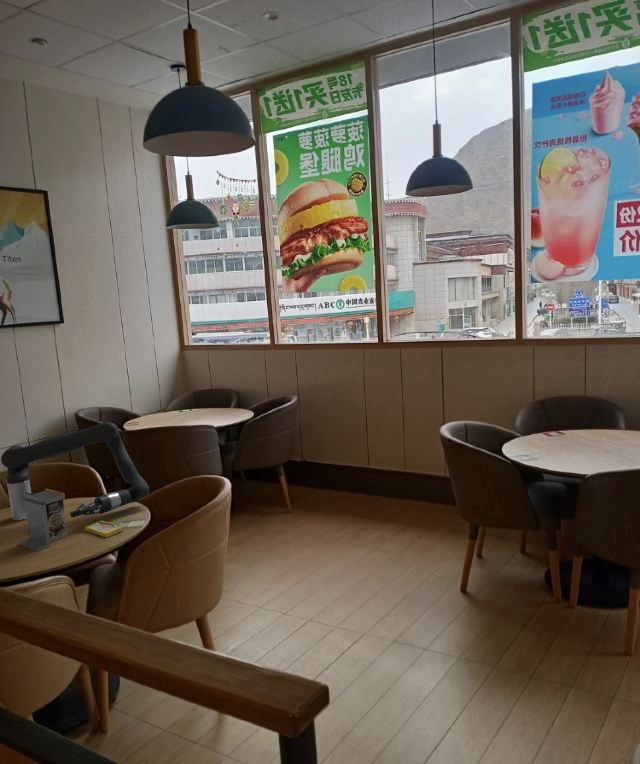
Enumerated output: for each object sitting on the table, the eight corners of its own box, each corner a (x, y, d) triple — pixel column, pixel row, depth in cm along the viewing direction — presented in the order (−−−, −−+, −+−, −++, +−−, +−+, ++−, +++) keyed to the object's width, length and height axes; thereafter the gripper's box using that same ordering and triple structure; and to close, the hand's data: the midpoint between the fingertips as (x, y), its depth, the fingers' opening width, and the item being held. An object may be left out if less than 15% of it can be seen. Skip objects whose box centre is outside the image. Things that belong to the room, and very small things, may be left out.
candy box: (123, 526, 255) (105, 533, 249) (124, 530, 256) (106, 538, 249) (101, 519, 266) (84, 526, 259) (102, 524, 266) (85, 531, 260)
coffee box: (47, 543, 249) (42, 504, 247) (39, 540, 252) (33, 502, 250) (68, 535, 256) (63, 497, 254) (59, 532, 260) (54, 495, 258)
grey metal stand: (18, 544, 250) (11, 496, 247) (52, 532, 261) (46, 486, 258) (35, 551, 241) (28, 502, 238) (70, 538, 252) (64, 491, 250)
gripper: (98, 492, 277) (61, 504, 263) (115, 496, 268) (78, 508, 255) (100, 508, 278) (64, 521, 264) (117, 513, 269) (80, 526, 256)
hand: (71, 515), depth 260 cm, fingers closed
